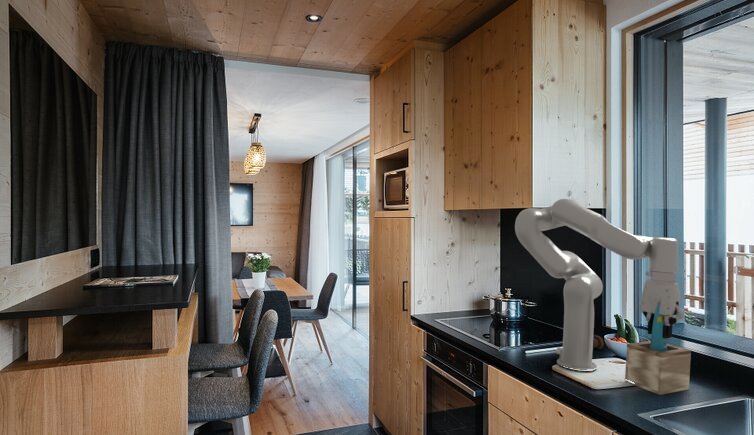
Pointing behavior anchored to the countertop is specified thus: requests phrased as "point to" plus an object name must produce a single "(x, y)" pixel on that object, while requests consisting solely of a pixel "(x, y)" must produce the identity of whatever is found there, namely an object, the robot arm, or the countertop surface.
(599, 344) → the brown oblong piece
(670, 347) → the box
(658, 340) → the tube
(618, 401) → the countertop surface
